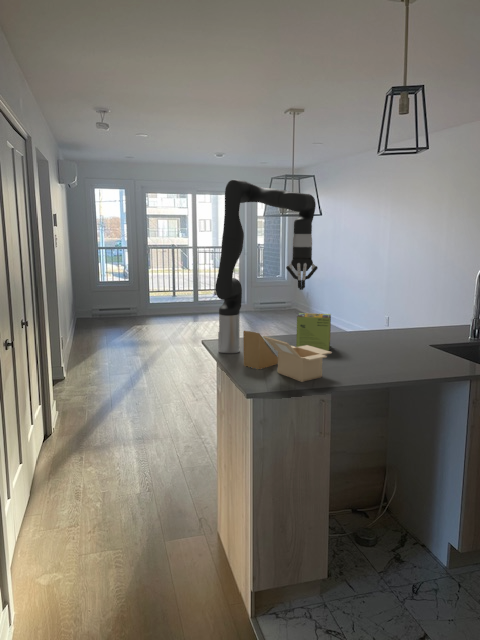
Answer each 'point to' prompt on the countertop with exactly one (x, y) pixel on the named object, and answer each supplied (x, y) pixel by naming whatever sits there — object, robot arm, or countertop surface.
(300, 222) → the robot arm
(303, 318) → the protein box
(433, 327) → the countertop surface
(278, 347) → the flap
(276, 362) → the sandwich container
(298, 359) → the carton
